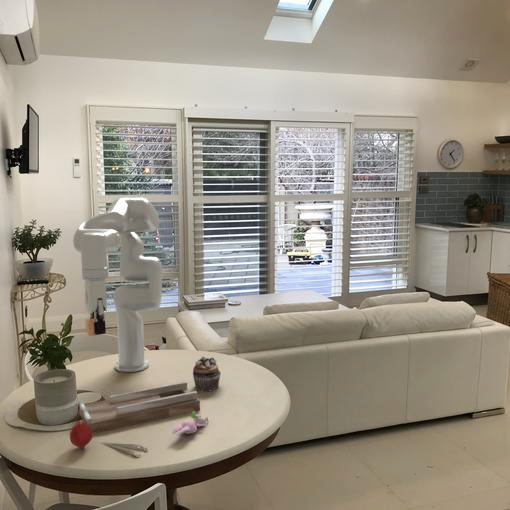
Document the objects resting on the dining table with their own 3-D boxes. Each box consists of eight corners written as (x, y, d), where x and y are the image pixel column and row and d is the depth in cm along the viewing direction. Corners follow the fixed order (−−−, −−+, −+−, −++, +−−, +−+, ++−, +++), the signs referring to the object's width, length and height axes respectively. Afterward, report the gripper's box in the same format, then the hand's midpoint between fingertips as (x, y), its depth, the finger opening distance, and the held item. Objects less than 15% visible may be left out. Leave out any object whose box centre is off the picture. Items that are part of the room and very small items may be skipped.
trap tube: (79, 414, 166) (78, 399, 165) (184, 393, 181) (184, 379, 180) (88, 434, 153) (87, 417, 153) (199, 409, 169) (199, 394, 168)
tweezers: (149, 451, 145) (148, 444, 145) (138, 460, 141) (137, 453, 140) (99, 442, 152) (98, 435, 152) (87, 450, 148) (86, 443, 148)
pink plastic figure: (194, 424, 162) (165, 438, 149) (196, 404, 162) (166, 416, 149) (212, 428, 160) (184, 443, 146) (214, 408, 160) (185, 421, 146)
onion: (70, 444, 148) (68, 417, 146) (92, 441, 150) (90, 413, 148) (71, 455, 142) (69, 426, 141) (93, 451, 144) (92, 423, 143)
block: (85, 331, 167) (85, 319, 166) (102, 329, 169) (101, 317, 168) (89, 336, 162) (88, 323, 162) (105, 333, 165) (105, 321, 164)
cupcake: (189, 390, 184) (188, 362, 182) (198, 380, 193) (198, 353, 191) (215, 393, 181) (215, 364, 180) (224, 382, 191) (224, 355, 189)
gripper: (77, 269, 169) (80, 326, 172) (87, 279, 154) (91, 341, 157) (101, 267, 172) (104, 323, 175) (114, 277, 157) (117, 337, 160)
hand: (98, 330), depth 166 cm, fingers closed on block, 5 cm apart
